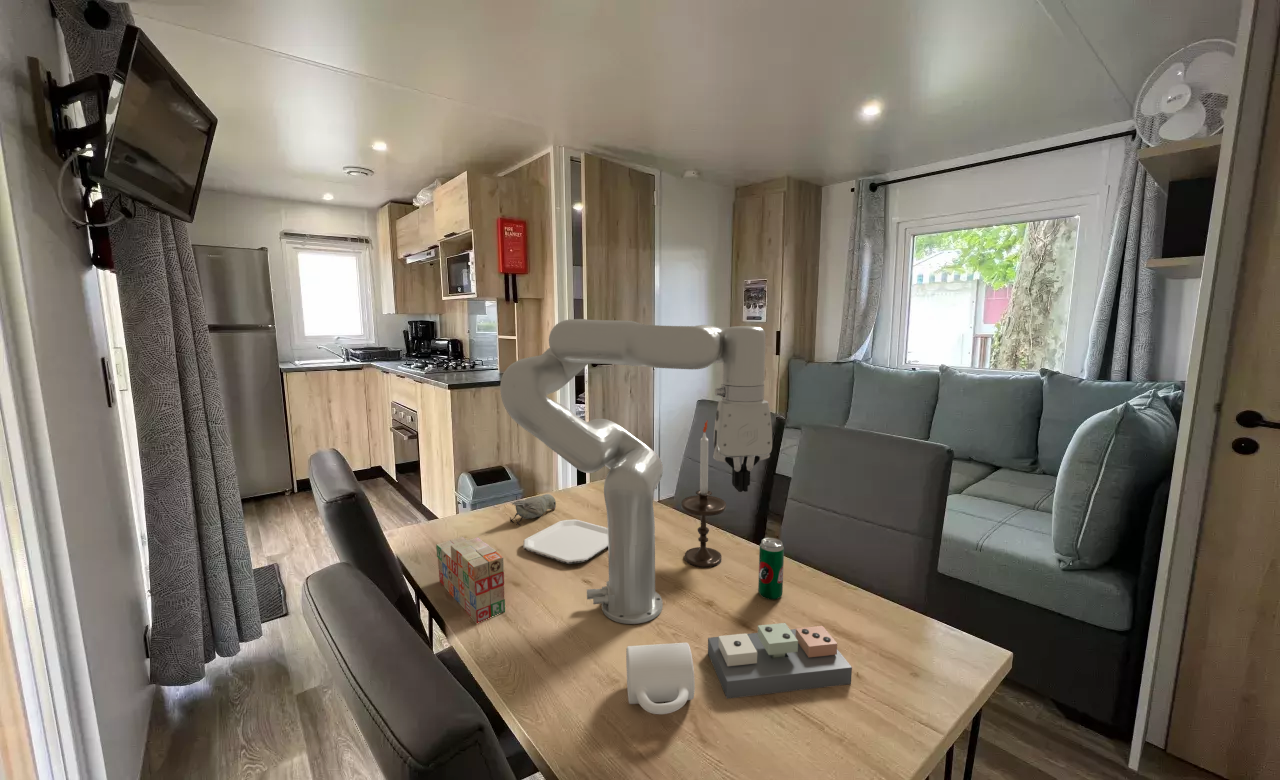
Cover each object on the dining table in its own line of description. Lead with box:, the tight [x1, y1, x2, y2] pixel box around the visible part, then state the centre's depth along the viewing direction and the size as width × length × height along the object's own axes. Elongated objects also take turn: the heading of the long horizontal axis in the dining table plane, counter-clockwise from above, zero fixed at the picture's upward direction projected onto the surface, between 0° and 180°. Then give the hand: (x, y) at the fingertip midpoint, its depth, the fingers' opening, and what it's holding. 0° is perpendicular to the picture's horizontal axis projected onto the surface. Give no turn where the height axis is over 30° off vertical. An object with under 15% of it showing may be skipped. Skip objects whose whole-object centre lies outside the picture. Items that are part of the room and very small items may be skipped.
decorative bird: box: [509, 493, 557, 527], centre depth 152 cm, size 5×16×7 cm, turn 142°
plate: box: [523, 518, 608, 565], centre depth 134 cm, size 21×21×2 cm
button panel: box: [707, 628, 853, 699], centre depth 87 cm, size 21×11×3 cm, turn 98°
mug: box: [625, 642, 696, 715], centre depth 79 cm, size 12×10×8 cm
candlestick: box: [680, 419, 727, 569], centre depth 123 cm, size 11×11×35 cm
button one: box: [718, 632, 757, 666], centre depth 86 cm, size 5×5×5 cm
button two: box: [757, 622, 798, 659], centre depth 86 cm, size 5×5×5 cm
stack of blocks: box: [435, 536, 506, 624], centre depth 109 cm, size 21×6×12 cm, turn 41°
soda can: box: [757, 537, 785, 601], centre depth 109 cm, size 5×5×12 cm
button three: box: [795, 625, 838, 657], centre depth 88 cm, size 5×5×5 cm
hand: (740, 489), depth 96 cm, fingers closed
